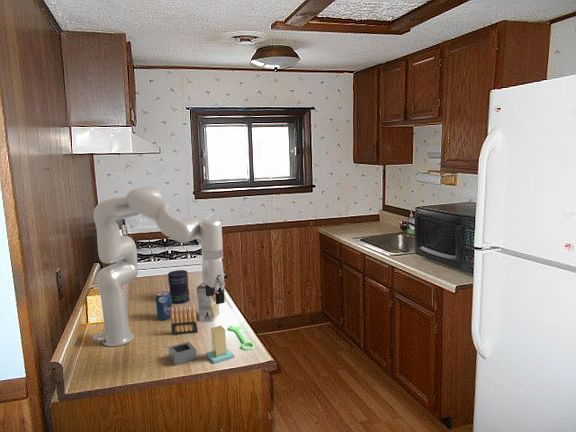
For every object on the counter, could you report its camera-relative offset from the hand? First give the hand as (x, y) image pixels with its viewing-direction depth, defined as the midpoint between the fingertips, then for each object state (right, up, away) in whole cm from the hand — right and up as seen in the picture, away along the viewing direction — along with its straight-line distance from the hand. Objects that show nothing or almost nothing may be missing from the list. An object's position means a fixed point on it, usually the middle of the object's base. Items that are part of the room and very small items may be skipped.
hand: (215, 299), depth 164 cm
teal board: (+1, -22, +3) cm, 22 cm away
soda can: (-30, -17, +44) cm, 56 cm away
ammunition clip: (-17, -19, +26) cm, 37 cm away
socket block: (-13, -23, +3) cm, 26 cm away
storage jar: (-29, -13, +66) cm, 74 cm away
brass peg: (+1, -21, +3) cm, 21 cm away
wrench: (+8, -20, +19) cm, 29 cm away
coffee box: (-9, -16, +42) cm, 46 cm away
